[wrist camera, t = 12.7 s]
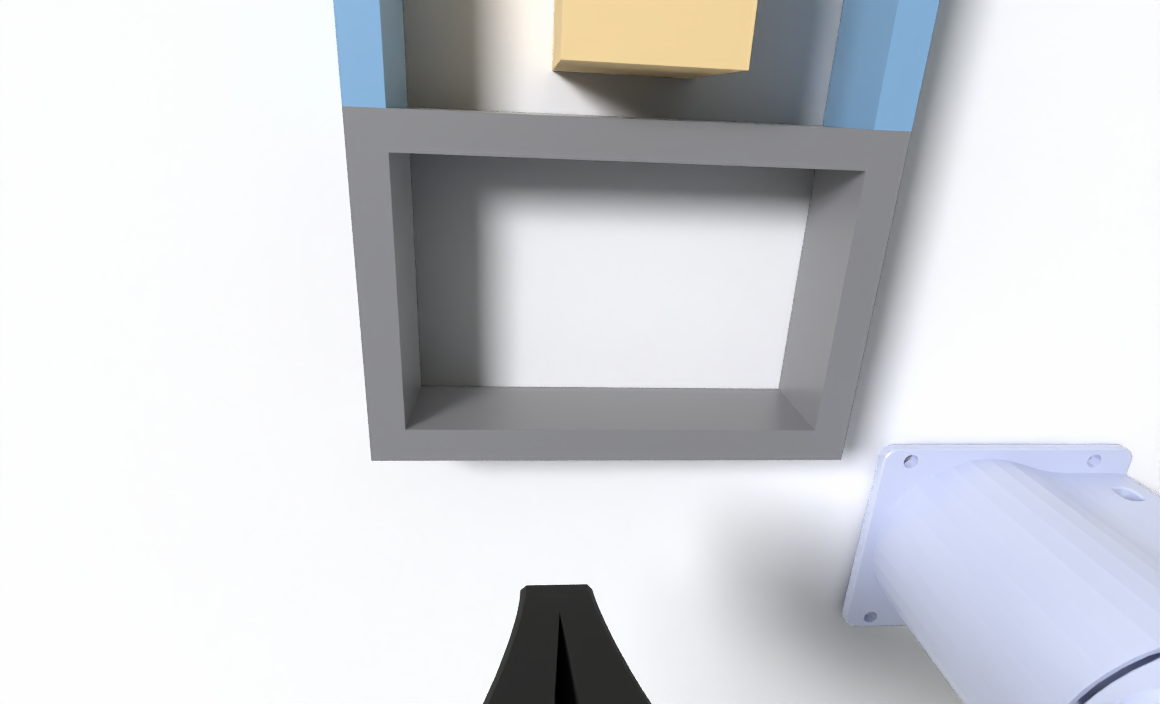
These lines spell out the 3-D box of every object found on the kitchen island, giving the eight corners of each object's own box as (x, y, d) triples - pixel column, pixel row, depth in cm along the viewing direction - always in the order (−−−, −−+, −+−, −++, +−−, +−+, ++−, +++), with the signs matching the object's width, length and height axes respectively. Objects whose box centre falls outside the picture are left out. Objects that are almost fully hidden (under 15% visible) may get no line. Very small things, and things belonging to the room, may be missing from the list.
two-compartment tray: (922, -234, 16) (1005, -305, 13) (802, 415, 22) (841, 460, 20) (344, -290, 15) (301, -380, 12) (391, 413, 21) (371, 460, 18)
